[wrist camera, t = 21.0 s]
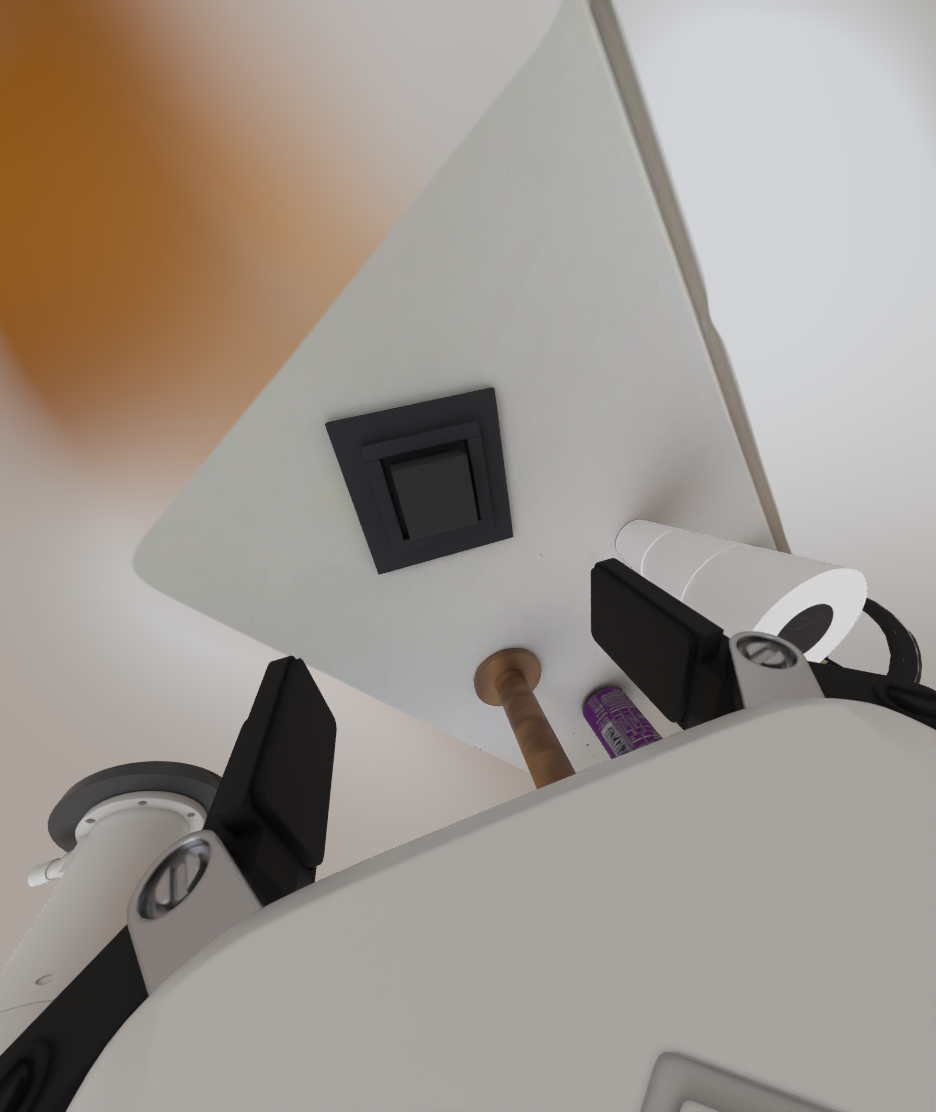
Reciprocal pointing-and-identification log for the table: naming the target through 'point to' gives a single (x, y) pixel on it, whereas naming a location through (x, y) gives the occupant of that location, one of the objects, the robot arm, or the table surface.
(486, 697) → the stand
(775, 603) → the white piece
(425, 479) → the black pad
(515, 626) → the table surface
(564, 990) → the robot arm
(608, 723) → the beverage can
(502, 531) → the base pad
